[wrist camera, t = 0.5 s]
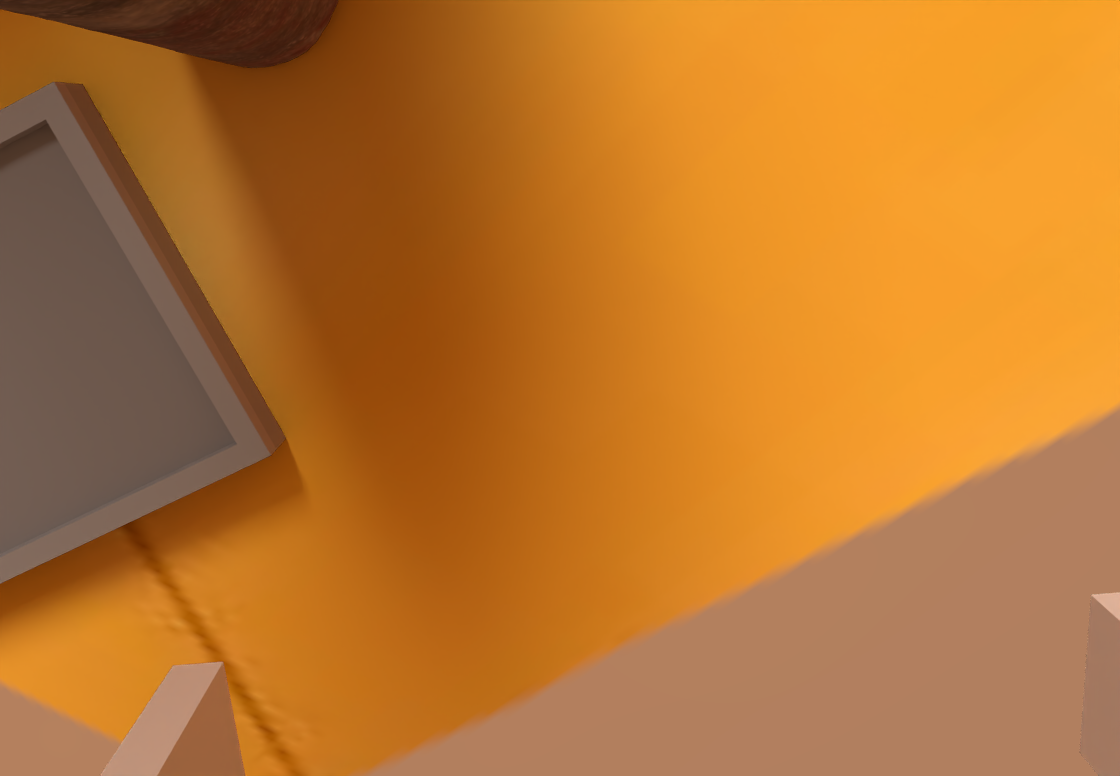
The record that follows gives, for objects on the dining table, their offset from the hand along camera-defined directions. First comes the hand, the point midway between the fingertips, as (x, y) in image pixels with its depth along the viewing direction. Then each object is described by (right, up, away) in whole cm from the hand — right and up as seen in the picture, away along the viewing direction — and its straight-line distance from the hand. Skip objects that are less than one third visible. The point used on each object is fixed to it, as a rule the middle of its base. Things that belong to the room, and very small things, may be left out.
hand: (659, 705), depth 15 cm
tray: (-24, +6, +27) cm, 36 cm away
